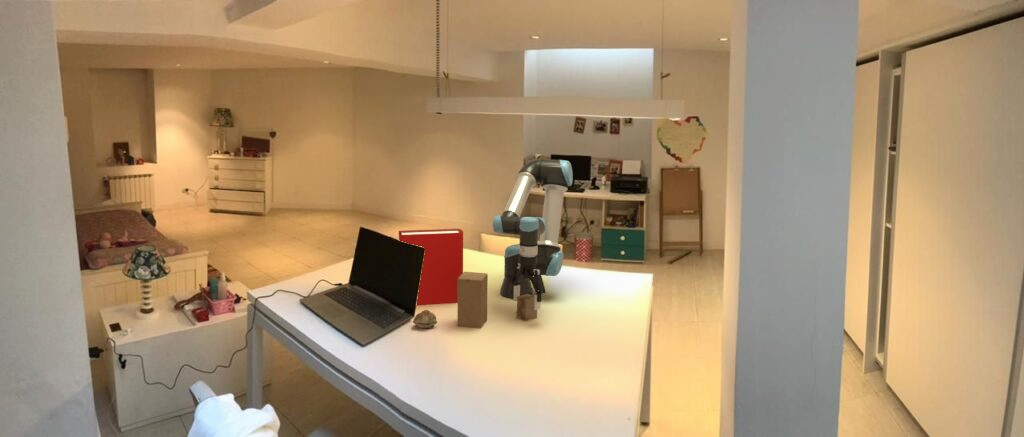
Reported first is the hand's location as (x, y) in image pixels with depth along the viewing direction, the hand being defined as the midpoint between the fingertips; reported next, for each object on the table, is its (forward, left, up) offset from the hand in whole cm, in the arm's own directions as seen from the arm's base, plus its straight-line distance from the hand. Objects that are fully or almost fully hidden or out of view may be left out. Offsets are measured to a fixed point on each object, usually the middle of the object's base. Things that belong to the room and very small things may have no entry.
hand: (526, 304), depth 260 cm
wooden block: (-8, -22, -6) cm, 24 cm away
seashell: (-15, -40, -6) cm, 43 cm away
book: (-40, -22, -6) cm, 46 cm away
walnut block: (0, 0, -6) cm, 6 cm away
